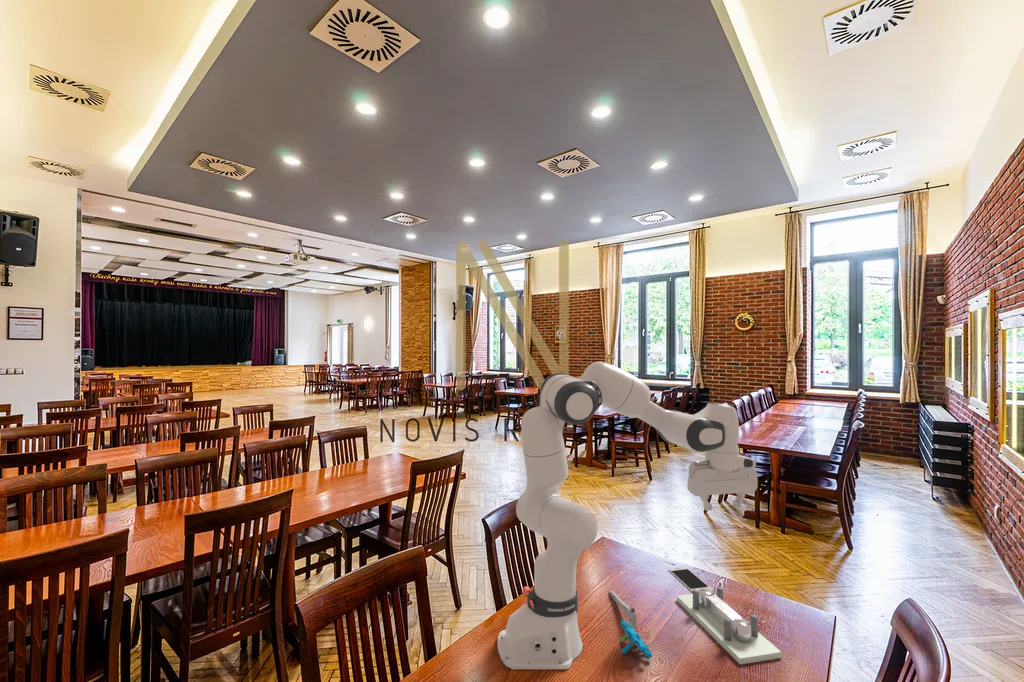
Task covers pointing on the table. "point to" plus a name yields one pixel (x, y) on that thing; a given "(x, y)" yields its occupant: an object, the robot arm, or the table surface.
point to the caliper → (626, 610)
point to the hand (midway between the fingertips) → (722, 508)
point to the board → (734, 646)
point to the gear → (633, 640)
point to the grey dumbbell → (725, 615)
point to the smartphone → (688, 579)
